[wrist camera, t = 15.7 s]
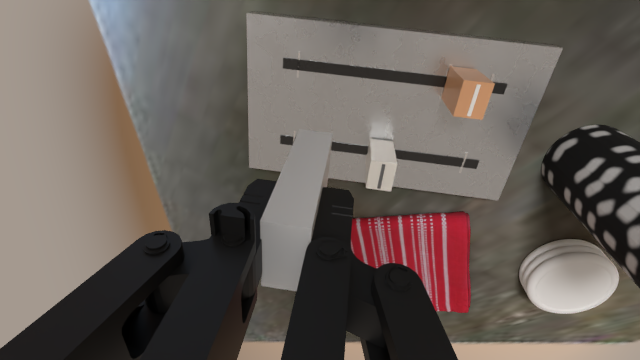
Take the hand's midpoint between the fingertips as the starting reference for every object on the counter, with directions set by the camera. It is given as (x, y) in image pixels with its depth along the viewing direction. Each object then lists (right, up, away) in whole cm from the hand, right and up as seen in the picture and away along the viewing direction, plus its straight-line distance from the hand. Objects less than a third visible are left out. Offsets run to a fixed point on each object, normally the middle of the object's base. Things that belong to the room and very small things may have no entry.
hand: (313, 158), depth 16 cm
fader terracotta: (+13, +8, +16) cm, 22 cm away
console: (+7, +6, +20) cm, 23 cm away
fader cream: (+6, +2, +21) cm, 22 cm away
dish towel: (+8, -12, +32) cm, 36 cm away
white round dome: (+31, -12, +29) cm, 44 cm away
